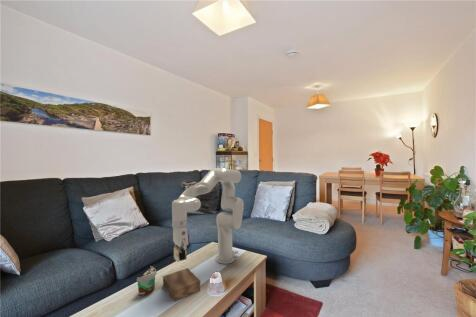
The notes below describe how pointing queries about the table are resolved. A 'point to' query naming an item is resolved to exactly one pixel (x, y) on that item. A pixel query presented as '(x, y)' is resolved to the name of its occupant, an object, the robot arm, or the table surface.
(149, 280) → the food container
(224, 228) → the robot arm
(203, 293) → the table surface
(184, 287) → the walnut box
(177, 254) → the birch block
